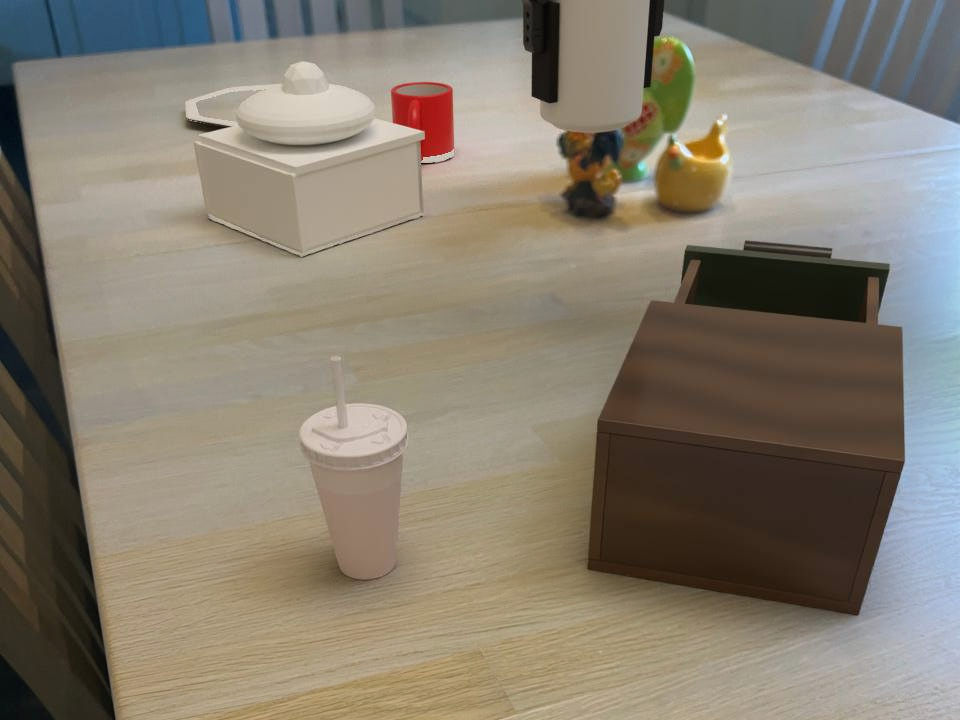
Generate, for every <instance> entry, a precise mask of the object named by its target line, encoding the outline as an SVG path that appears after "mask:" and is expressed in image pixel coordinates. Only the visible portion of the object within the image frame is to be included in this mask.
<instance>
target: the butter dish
mask: <svg viewBox="0 0 960 720" xmlns="http://www.w3.org/2000/svg"><path fill="white" fill-rule="evenodd" d="M281 84H282V85H280V86H277V87H273V88H269V89H266V90H263V91H260V92H258V93H256V94H254V95H252V96H250V97H249V98H247V99H246V100H245V101H243V102H242V103H241V104H240V106H239V107H238V109H237V111H236V117H235V118H236V120H237V123H238V125H237V126H233V127H228V128H225V127H223V128H220V129H216V130H213V131H208V132H204V133H200V134H197V137H198V140H197V141H196V140H195V141H193V147H194V153H195V158H196V163H197V169H198V174H199V181H200V185H201V191H202V196H203V202H204V208H205V212H206V214H207V213H208V214H211V215H213V216H215V217H217V218H220V219H222V220H224V221H226V222H229V223H231V224H233V225H235V226H238V227H240V228H242V229H244V230H246V231H249V232H252V233H254V234H256V235H258V236H259V237H261V238H265V239H267V240H270V241H272V242H275V243H277V244H280V245H282V246H285V247H287V248H290V249H292V250H295V251H297V252H300V253H303V252H306V251H309V250H312V249H315V248H318V247H321V246H325V245H328V244H330V243H334V242H337V241H341V240H343V239H347V238H349V237H352V236H355V235H359V234H361V233H364V232H367V231H371V230H374V229H377V228H379V227H382V226H386V225H388V224H390V223H394V222H397V221H399V220H402V219H406V218H408V217H411V216H414V215H417V214H419V213H422V212H424V197H423V196H424V195H423V193H424V191H423V170H422V164H421V148H420V140H423V139H425V132H424V131H420V130H417V129H413V128H409V127H405V126H402V125H398V124H394V123H393V122H390V121H386V120H383V119H380V118H376V115H377V107H376V105H375V103H374V102H373V101H372V100H371V99H370V98H369V96H367V95H365V94H364V93H362V92H360V91H358V90H357V89H354V88H350V87H347V86H344V85H339V84H333V83H328V80H327V78H326V75H325V73H324V71H323V70H321V68H320V67H319V66H317V65H316V64H315V63H312V62H309V61H304V60H302V61H299V62H295V63H293V64H290V65H289V66H288V67H287V70H286V71H285V73H284V74H283V76H282V82H281Z"/></svg>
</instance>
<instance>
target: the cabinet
mask: <svg viewBox="0 0 960 720" xmlns="http://www.w3.org/2000/svg"><path fill="white" fill-rule="evenodd" d="M903 337H904V336H903V326H897V325H890V324H889V325H887V324H879V323H878V324H870V323H861V322H851V321H842V320H832V319H823V318H814V317H804V316H795V315H785V314H776V313H766V312H757V311H748V310H738V309H729V308H719V307H710V306H701V305H691V304H682V303H674V302H671V301H662V300H650V301H649V303H648V305H647V308H646V310H645V312H644V315H643V317H642V319H641V321H640V324H639V326H638V329H637V330H636V333H635V335H634V337H633V339H632V342H631V343H630V346H629V348H628V351H627V353H626V355H625V357H624V359H623V361H622V364H621V366H620V369H619V371H618V373H617V375H616V377H615V379H614V382H613V384H612V387H611V389H610V391H609V394H608V396H607V398H606V400H605V402H604V404H603V407H602V409H601V411H600V414H599V415H598V417H597V423H596V436H595V451H594V466H593V477H592V478H593V480H592V493H591V508H590V509H591V510H590V523H589V537H588V549H587V564H586V568H587V569H588V570H592V571H598V572H604V573H610V574H615V575H622V576H628V577H633V578H638V579H639V578H640V579H645V580H652V581H657V582H664V583H669V584H673V585H674V584H675V585H681V586H686V587H693V588H697V589H703V590H710V591H716V592H720V593H721V592H722V593H727V594H732V595H740V596H744V597H745V596H746V597H751V598H757V599H763V600H769V601H775V602H781V603H787V604H792V605H797V606H798V605H799V606H802V607H803V606H804V607H810V608H816V609H821V610H828V611H832V612H833V611H834V612H839V613H845V614H851V615H857V616H858V615H860V613H861V609H862V606H863V602H864V599H865V595H866V593H867V589H868V586H869V583H870V579H871V576H872V573H873V571H874V566H875V563H876V559H877V556H878V554H879V549H880V546H881V543H882V539H883V536H884V532H885V530H886V527H887V522H888V520H889V516H890V513H891V510H892V505H893V503H894V499H895V496H896V493H897V490H898V487H899V483H900V480H901V476H902V472H903V470H904V466H905V464H906V445H905V444H906V443H905V442H906V440H905V439H906V438H905V393H904V391H905V389H904V342H903V341H904V338H903Z"/></svg>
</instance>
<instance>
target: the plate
mask: <svg viewBox="0 0 960 720" xmlns="http://www.w3.org/2000/svg"><path fill="white" fill-rule="evenodd" d="M280 85H282V83H273V84H257V85H256V84H255V85H242V86H232V87H226V88H222V89H219V90H216V91H213V92H210V93H207V94H203V95H200V96H197V97H194V98H190V99H187V100H186V101H185V102H184V110H185V118H186V120H187V119H188V120H187V121H189V120H192V121H197V122H201V123H200V124H202V123H205V124H204V125H208V124H210V125H209V126H213V125H215V126H214V127H219V128H228V127H233V126H237V125H238V123H237V122H234V121H228V120H221V119H214V118H207V117H203V116H200V115H199V113H198V109H197V106H196V102H198V101H200V100H204V99H208V98H212V97H213V96H214V97H216V96H217V95H218V96H219V95H221V94H225V93H229V92H234V91H235V92H238V91H246V90H247V91H249V90H253V91H256V90H264V89H269V88H273V87H277V86H280Z"/></svg>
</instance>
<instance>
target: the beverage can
mask: <svg viewBox="0 0 960 720" xmlns="http://www.w3.org/2000/svg"><path fill="white" fill-rule="evenodd" d="M548 1H551V2H556V3H560V16H559V57H558V99H557V102H556V103H546V102H544V101H542V100H539V103H540V104H539V115H540V117H541V118H542V119H543V121H545V122H547V123H549V124H551V125H552V126H553V127H555V128H557V129H559V130H561V131H568V132H571V133H585V134H594V133H597V134H598V133H607V132H613V131H617V130H621V129H623V128H625V127H627V126H628V125H629V124H631V123H634V122H635V121H637V120H638V119H640V117H641V116H642V113H643V102H644V101H643V100H644V99H643V97H644V88H643V87H644V73H645V59H646V45H647V31H648V17H649V3H650V0H548Z"/></svg>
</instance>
